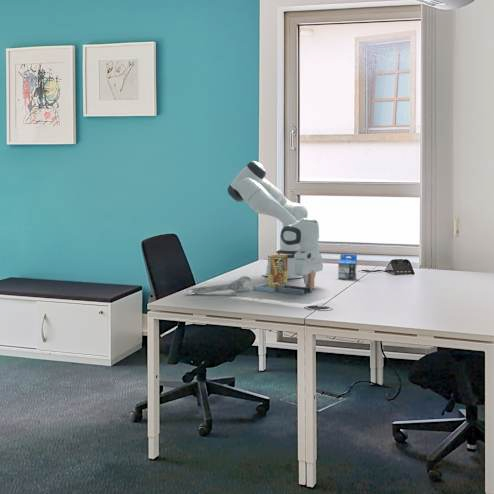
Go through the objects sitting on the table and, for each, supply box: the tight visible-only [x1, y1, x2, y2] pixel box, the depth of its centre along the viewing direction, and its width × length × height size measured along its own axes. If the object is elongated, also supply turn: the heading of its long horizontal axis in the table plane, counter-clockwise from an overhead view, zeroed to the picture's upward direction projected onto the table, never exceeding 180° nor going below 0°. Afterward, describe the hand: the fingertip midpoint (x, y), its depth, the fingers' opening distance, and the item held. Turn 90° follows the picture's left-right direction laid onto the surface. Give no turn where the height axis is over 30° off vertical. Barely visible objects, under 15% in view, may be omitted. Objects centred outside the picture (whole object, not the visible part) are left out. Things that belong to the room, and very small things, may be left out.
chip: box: [267, 282, 281, 292], centre depth 328 cm, size 4×4×4 cm
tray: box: [252, 282, 285, 293], centre depth 329 cm, size 11×12×3 cm
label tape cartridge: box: [337, 253, 358, 280], centre depth 368 cm, size 9×4×12 cm, turn 68°
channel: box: [275, 284, 313, 296], centre depth 322 cm, size 14×10×4 cm
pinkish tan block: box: [304, 270, 316, 290], centre depth 331 cm, size 3×4×10 cm
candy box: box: [267, 253, 288, 285], centre depth 345 cm, size 9×4×15 cm, turn 110°
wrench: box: [186, 275, 253, 294], centre depth 325 cm, size 8×2×30 cm
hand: (309, 282), depth 331 cm, fingers open, 4 cm apart
